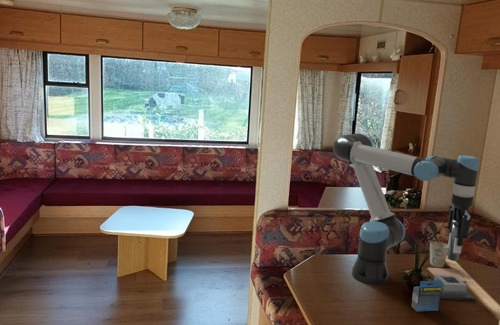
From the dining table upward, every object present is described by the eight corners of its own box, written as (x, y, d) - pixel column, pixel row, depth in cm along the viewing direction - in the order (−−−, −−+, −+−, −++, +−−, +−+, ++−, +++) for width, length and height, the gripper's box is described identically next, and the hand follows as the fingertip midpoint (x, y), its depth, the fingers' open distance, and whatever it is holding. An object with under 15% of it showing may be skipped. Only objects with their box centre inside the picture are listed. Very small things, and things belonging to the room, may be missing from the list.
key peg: (461, 261, 164) (467, 223, 161) (449, 261, 164) (455, 222, 161) (455, 256, 169) (461, 219, 166) (444, 256, 169) (450, 218, 166)
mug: (425, 265, 194) (428, 245, 192) (431, 256, 204) (433, 237, 202) (444, 270, 189) (447, 249, 187) (449, 261, 199) (452, 242, 198)
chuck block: (439, 298, 162) (441, 287, 161) (424, 282, 176) (426, 271, 175) (474, 300, 162) (476, 288, 161) (457, 283, 176) (458, 272, 175)
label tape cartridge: (432, 305, 157) (436, 275, 154) (438, 311, 153) (442, 280, 151) (410, 306, 155) (414, 276, 153) (416, 312, 151) (420, 281, 149)
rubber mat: (438, 280, 178) (439, 279, 178) (427, 268, 190) (427, 267, 190) (466, 282, 178) (466, 280, 178) (453, 270, 190) (453, 268, 190)
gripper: (484, 201, 153) (474, 259, 158) (461, 189, 170) (453, 243, 174) (464, 200, 153) (455, 258, 158) (443, 188, 170) (435, 242, 174)
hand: (454, 250), depth 166 cm, fingers closed on key peg, 4 cm apart
